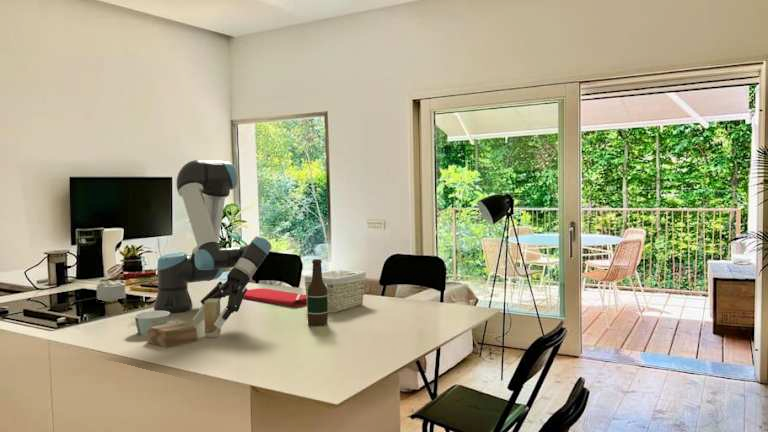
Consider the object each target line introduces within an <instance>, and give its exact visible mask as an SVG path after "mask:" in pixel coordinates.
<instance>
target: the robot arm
mask: <svg viewBox="0 0 768 432" xmlns="http://www.w3.org/2000/svg"><path fill="white" fill-rule="evenodd" d="M237 185H238V173H237V170H236V168H235V166H234V164H233V163H231V162H230V161H227V160H225V161H223V160H200V159H199V160H198V159H196V160H192V161H189V162H187V163H186V164H184V165H183V166H181V168H180V170H179V172H178V174H177V178H176V190H177V193H178V196H179V197H181V198H182V200H183V203H184V207H185V210H186V214H187V217H188V219H189V223H190V226H191V229H192V233H193V236H194V239H195V243H196V246H195V247H193V249H192V251H191V255H188V253H187V252H183V251H181V252H173V253H172V252H171V253H168V254H163V255H161V256H159V257H158V258H157V267H156V270H157V295H156V298H155V302H154V305H153V311H168V312H170V314H171V313H181V312H187V311H190V310H192V309H193V302H192V299H191V296H190V293H189V288H188V284H190V283H199V282H210V281H214V280H218V279H219V278H220V277H221V276H222V274H223V272H224V269H230V271H229V272H228V273H227V275H226V278H227V280H226V281H225V282H222V281H219V282H218V283H217V284H216V285H215V286H214V288H212V289H211V290H210V291H209V292H208V293H207V294H206V295H205V296H204V297H203V298H202V299H201V300H200V303H201V304H202V305H201V306H200V308H199V310H198V311H197V312H196V314H195V315H194V317H193V318H192V321H194V323H195V324H197V325H200V323H201V321H202V320H203V319H205V312H204V302H205V301H206V300H207V299H216V298H220V300H221V299H222V298H226V297H228V299H227V306H225V308H224V309H223V310H222V312H220V316H219V317H218V319H217V320H216V322H215V323H214V325H215V326H216V327H217V328H218V329H220V328H222V327H223V325H224V324H225V322H226V321H227V320H228V319H229V317H230V316H231V314H234V312H235V313H238V312H239V310H240V307H241V305H242V303H243V299H244V298H243V297H244V294H245V293H246V291H247V290H248V288H247V285H248V283H249V282H250V279H252V278H253V276H254V275H255V273H256V271H257V270H258V269H259V267H260V266H261V265H262V263H263V262H264V260H265V259H266V258H267V256H268V255H269V253H270V251H271V249H272V244H271V243H270V241H269V240H268V239H266V238H265V237H263V236H258V235H257V236H254V238H253V239H252V240H251V242H249V244H247V245H243V246H236V247H220V244H219V241H220V234H221V228H222V221H223V213H224V207H225V201H226V199H227V198H228V197H229V196H230V192H231V191H233V190H235V189H236V187H237ZM231 268H232V269H231Z"/></svg>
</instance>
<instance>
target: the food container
mask: <svg viewBox="0 0 768 432" xmlns="http://www.w3.org/2000/svg"><path fill="white" fill-rule="evenodd" d="M170 315H171V313H170V312H168V311H154V310H148V311H142V312H138V313H135V314H133V318H134V320H135V324H136V329H137V334H138V335H139V336H147V337H148V330H150V327H153V326H158V325H163V324H167V323H169V316H170Z"/></svg>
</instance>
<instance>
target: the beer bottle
mask: <svg viewBox="0 0 768 432" xmlns="http://www.w3.org/2000/svg"><path fill="white" fill-rule="evenodd" d="M311 263H312V271H311V272H312V273H311V274H312V281H311V283H310V285H309V287H308V292H307V305H306V308H307V307H308V309H307V323H308V326H310V327H323V326H324V327H325V326H327V325H328V318H329V317H328V316H329V312H328V298H327V289H326V286H325V284H324V283H323V280H322V272H323V271H322V263H323V261H322V259H319V258H317V259H312V261H311Z"/></svg>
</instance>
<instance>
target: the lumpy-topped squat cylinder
mask: <svg viewBox="0 0 768 432" xmlns="http://www.w3.org/2000/svg"><path fill="white" fill-rule="evenodd" d="M126 294H127V293H126V283H123V282H121V280H118V279H117V280H115V281H113V280H110V279H108V280H107V281H101V282H99V283H98V284H96V300H97V299H98V300H102V301H112V300H116V299H122V298H126V296H127V295H126Z"/></svg>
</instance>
